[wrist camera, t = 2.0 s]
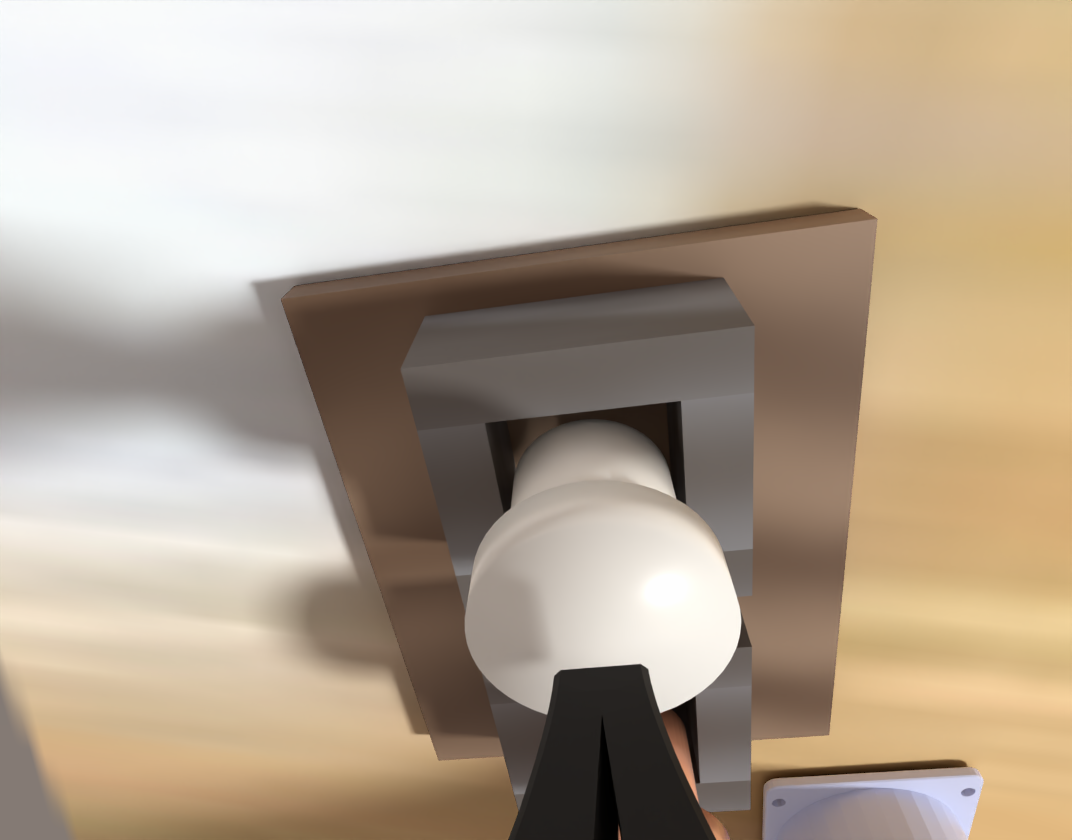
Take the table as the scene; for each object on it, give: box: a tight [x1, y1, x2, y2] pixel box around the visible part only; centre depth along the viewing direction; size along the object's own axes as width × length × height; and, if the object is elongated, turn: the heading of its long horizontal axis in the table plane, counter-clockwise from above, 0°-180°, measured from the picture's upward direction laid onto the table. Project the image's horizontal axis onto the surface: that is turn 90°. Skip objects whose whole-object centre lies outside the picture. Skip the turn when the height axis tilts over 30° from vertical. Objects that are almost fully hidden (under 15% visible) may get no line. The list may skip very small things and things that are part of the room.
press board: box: [281, 209, 877, 812], centre depth 20 cm, size 18×14×4 cm
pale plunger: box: [465, 419, 741, 714], centre depth 14 cm, size 5×5×4 cm
